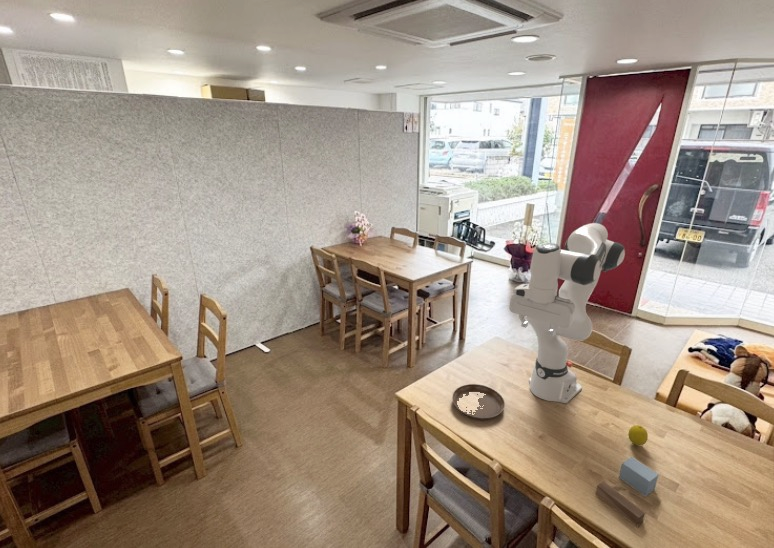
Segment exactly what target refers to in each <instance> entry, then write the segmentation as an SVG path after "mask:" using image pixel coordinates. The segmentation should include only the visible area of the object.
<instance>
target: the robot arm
mask: <svg viewBox="0 0 774 548" xmlns="http://www.w3.org/2000/svg"><path fill="white" fill-rule="evenodd" d="M608 235H609V233H608V230H607V227H605V226H604V225H603V224H600V223H599V222H598V223H597V222H592V223H587V224H584V225H582V226H580V227H578V228H577V229H575V230H574V231H572V232H571V234H570V235H569V236H568V237H567V239H566V241H565V243H564V249H561V246H560V245H559V244H556V243H553V242H543V243H538V244H537V245H536V246H535V247H534V249H533V252H532V256H531V260H530V261H531V262H530V266H529V267H530V268H529V269H530V270H529V272H530V273H529V274H530V278H529V282H528V283H522V284H519V285H518V286H516V287H515V288H514V289H513V291H512V293H513V295H511V298H510V301H509V307H508V309H509V311H510V312H511V313H513V314H516V315H518V318H519V320H520V322H521V327H523V328H527V327H528V324H529V325H530V326H531V327H532V328H533V330H534V332H535V336H536V337H537V342H538V343H537V344H538V346H537V347H538V350H537V357H536V360H535V363H534V364H535V365H534V366H533V369H532V373H531V376H530V377H529V378H528V382H529V391H530V392H531V393H532V394H533V395H534V396H535V397H537V398H540V399H542V400H544V401H549V402H559V403H562V404H568V403H569V402H570V401H571V400H572V399H573V398H574V397H575V396H576V395H577V394H578V393H580V391H582V389H583V388H582V385H581V384H580V383H579V382H578V381H577V376H576V374H575V373H574V372H572V371H571V370H570V369H568V368H572V367H573V363H572V362H570V361H568V354H569V348H568V347H569V346H568V345H567V343H566V342H565V341H564V340H563V339H562V338H565V339H568V340H572V341H578V342H579V341H580V342H583V341H585V340H587V339H589V337H590V336H591V334H592V331H593V322H592V320H591V318H590V317H589V316H588V314H587V311H586V306H587V303H588V300H589V299H590V297H591V295H592V293H593V292H594V289H595V288H596V287H597V284H598V282H599V280H600V279H599V278H600V276H601V272H602V271H603V273H607V272H608V271H611V270H614V269H615V268H618V267H619V265H621V264H622V263H623V261H624V259H625V255H626V249H625V246H624V245H623V244H621V243H619V242H616V241H615V242H614V241H612V240H609V239H608V237H609V236H608ZM558 279H559V280H563V281H564V282H563V283H562V285H561V286H560V288H559V282H558ZM558 288H559V290H558ZM561 337H562V338H561Z"/></svg>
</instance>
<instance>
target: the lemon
mask: <svg viewBox="0 0 774 548" xmlns="http://www.w3.org/2000/svg"><path fill="white" fill-rule="evenodd" d="M648 434H649V433H648V431H647V430H646V428H645V427H644V426H642V425H639V424H634V425H632V426H631V427H630V428H629V430H628V435H627V436H628V439H629V441H630V442H631V443H632V445H633V444H634V445H635V446H643V445H645V444H646V443H647V442H648V436H649V435H648Z"/></svg>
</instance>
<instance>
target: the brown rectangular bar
mask: <svg viewBox="0 0 774 548" xmlns="http://www.w3.org/2000/svg"><path fill="white" fill-rule="evenodd" d="M595 495H596V496H597V497H599V498H600V499H601V500H603V502H605V503H606V504H608V506H609V507H611V508H612V509H613V510H615V511H616V512H617V513H619V514H620V515H621V516H623V518H625V519H626V520H628V522H630V523H631V524H632V525H633V526H635V527H636V528H638V527H639V526H640V525H641V524H642V523H644V518H645V515H646V512H645V511H644V510H642V509H641V508H640V507H639V506H637V505H636V504H634V503H633V502H632V501H631V500H630V499H628V498H626V497H625V496H624V495H623V494H622V493H620V492H619V491H617V490H616V489H615V488H614V487H612V486H611V485H610V484H608V483H607V482H606V481H604V480H603V481H602V482H600V483H598V484H597V487H596V491H595Z"/></svg>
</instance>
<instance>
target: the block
mask: <svg viewBox="0 0 774 548" xmlns="http://www.w3.org/2000/svg"><path fill="white" fill-rule="evenodd" d="M659 475H660V474H659V473H658V472H656V471H654V470H653V469H651V468H649V467H648V466H646V464H643V463H642V462H640V461H639V460H637V459H636V458H634V457H633V456H630V457H629V458H628V459H627V458H626V460H624V461H623V462H622V463H621V467H620V470H619V475H618V478H619V480H620V479H621V480H622V481H623V482H624V483H626V484H627V485H629V486H630V487H631V488H633V489H634V490H635V491H637V492H639V494H641V495H643V496H644V497H647V496H648V495H650V494H651V493H652V492H653V491H655V490H656V486H657V482H658V479H659Z"/></svg>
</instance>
